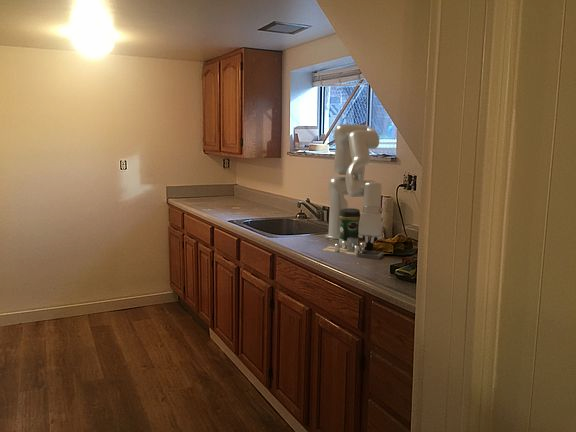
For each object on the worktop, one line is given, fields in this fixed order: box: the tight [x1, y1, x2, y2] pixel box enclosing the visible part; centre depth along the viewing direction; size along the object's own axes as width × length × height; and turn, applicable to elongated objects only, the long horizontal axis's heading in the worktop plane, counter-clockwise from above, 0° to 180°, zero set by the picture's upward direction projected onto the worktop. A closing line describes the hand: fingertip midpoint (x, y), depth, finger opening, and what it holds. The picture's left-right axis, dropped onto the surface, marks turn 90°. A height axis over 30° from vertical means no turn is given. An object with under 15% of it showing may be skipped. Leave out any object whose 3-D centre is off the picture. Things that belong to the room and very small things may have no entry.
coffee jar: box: [337, 207, 361, 248], centre depth 246 cm, size 10×8×19 cm
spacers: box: [334, 241, 366, 255], centre depth 236 cm, size 11×11×4 cm
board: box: [320, 246, 361, 256], centre depth 237 cm, size 12×18×1 cm, turn 67°
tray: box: [357, 249, 384, 260], centre depth 226 cm, size 9×9×2 cm
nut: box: [347, 237, 358, 252], centre depth 235 cm, size 4×5×6 cm
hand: (369, 251), depth 232 cm, fingers closed
